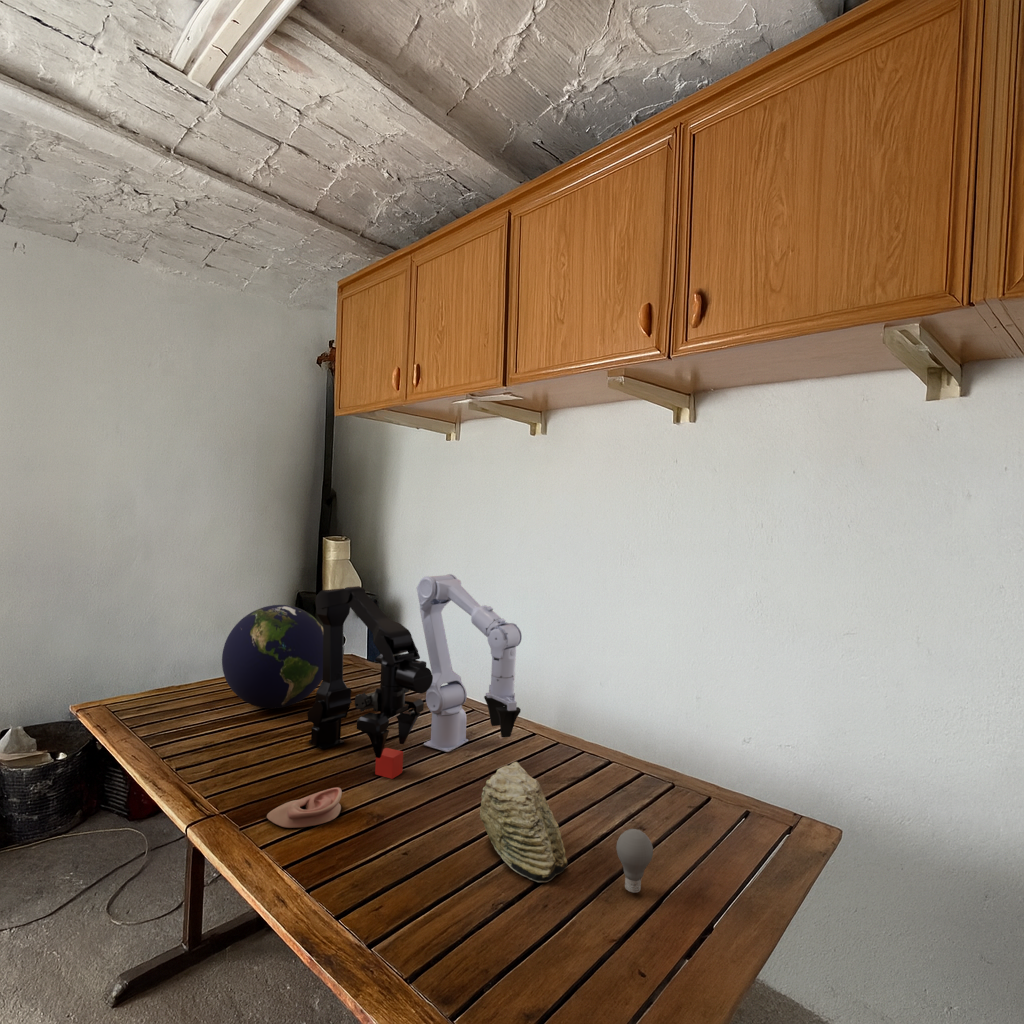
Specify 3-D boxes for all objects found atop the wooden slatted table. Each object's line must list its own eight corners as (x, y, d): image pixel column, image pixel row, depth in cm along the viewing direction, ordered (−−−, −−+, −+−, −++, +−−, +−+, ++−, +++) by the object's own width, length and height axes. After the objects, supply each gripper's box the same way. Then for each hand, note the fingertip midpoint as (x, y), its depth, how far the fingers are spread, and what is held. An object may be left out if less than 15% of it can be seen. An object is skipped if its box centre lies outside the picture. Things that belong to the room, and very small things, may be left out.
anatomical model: (258, 803, 122) (290, 777, 133) (257, 823, 122) (290, 796, 133) (321, 812, 119) (349, 786, 130) (320, 833, 119) (348, 805, 130)
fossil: (501, 827, 124) (504, 751, 124) (575, 868, 111) (578, 784, 111) (467, 843, 118) (470, 763, 118) (541, 889, 105) (545, 799, 105)
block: (385, 768, 149) (386, 747, 149) (402, 772, 147) (403, 751, 147) (375, 774, 146) (375, 753, 145) (392, 779, 144) (393, 757, 143)
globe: (289, 685, 209) (292, 594, 208) (348, 705, 191) (352, 606, 191) (199, 706, 185) (203, 604, 184) (258, 732, 167) (262, 619, 167)
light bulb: (610, 879, 108) (613, 822, 108) (644, 879, 109) (647, 822, 109) (619, 902, 102) (622, 840, 102) (655, 901, 103) (658, 840, 103)
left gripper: (387, 669, 158) (385, 731, 158) (338, 687, 141) (335, 757, 141) (426, 675, 153) (423, 740, 153) (379, 696, 136) (376, 768, 136)
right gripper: (478, 667, 158) (476, 721, 158) (497, 684, 144) (494, 743, 144) (505, 666, 160) (502, 719, 161) (525, 682, 147) (523, 740, 147)
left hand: (390, 750), depth 146 cm, fingers open, 9 cm apart
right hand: (500, 730), depth 153 cm, fingers open, 7 cm apart
